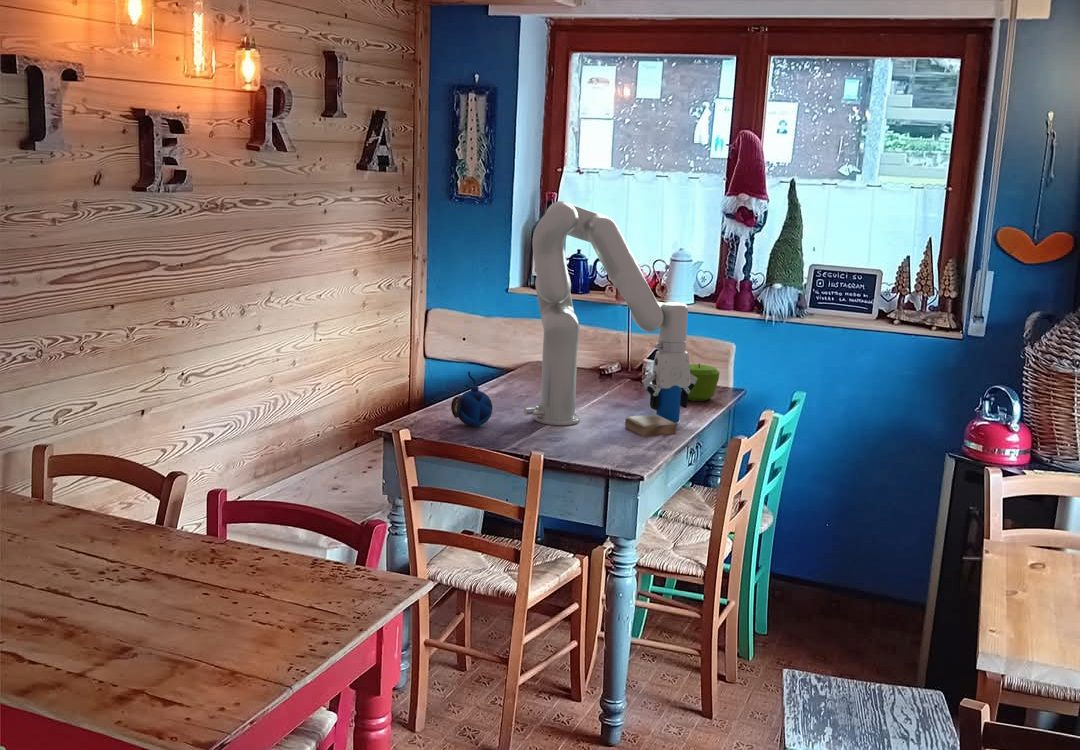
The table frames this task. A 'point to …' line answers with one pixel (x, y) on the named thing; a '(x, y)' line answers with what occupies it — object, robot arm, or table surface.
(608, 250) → the robot arm
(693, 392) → the apple
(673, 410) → the beverage can
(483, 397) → the bomb
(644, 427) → the pedestal
